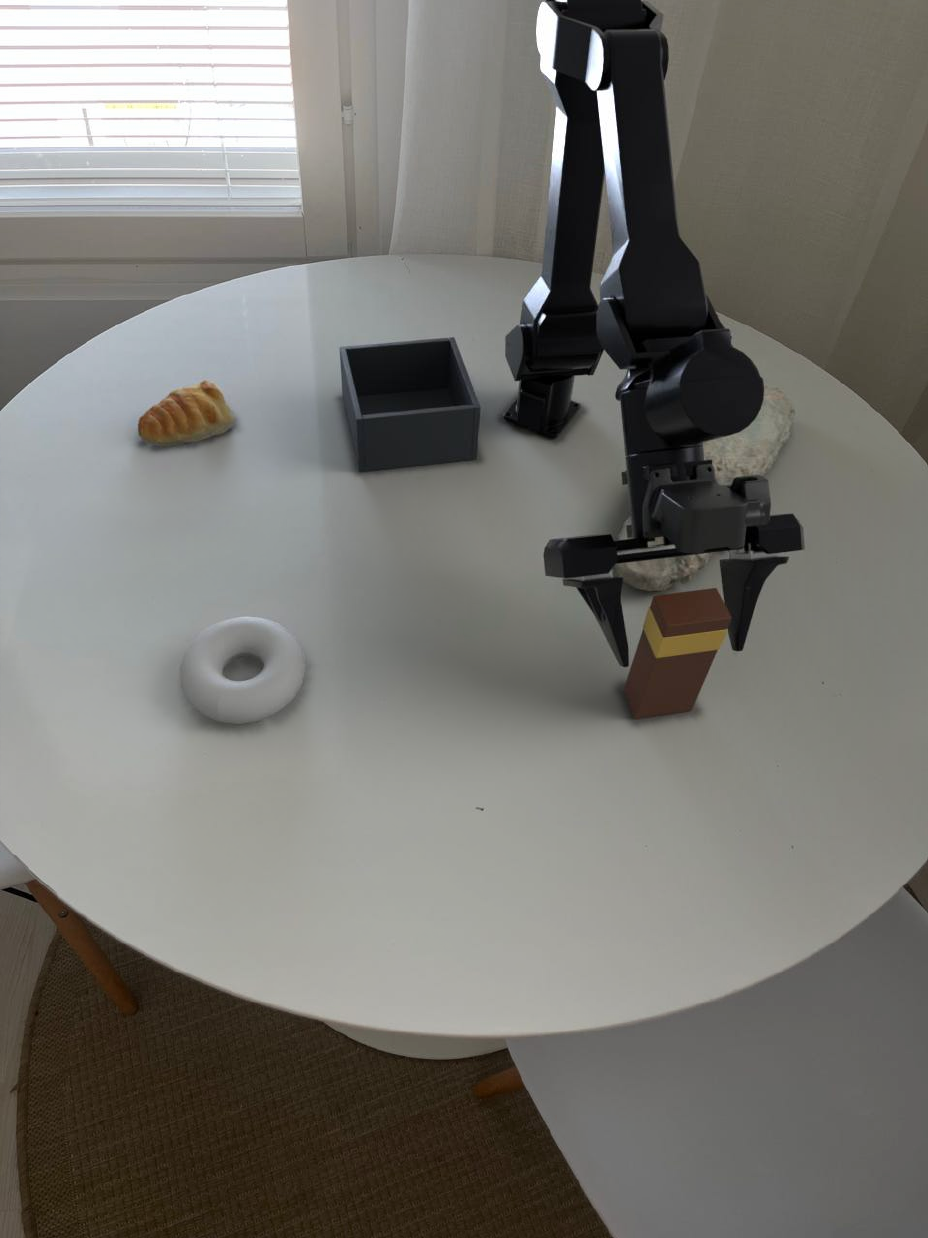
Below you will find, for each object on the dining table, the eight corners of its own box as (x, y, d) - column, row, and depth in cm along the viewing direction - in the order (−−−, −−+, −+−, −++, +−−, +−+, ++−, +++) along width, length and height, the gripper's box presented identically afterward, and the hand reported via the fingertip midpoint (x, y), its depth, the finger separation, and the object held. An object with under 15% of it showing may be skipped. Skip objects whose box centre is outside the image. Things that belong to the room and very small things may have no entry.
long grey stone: (808, 433, 101) (724, 404, 105) (824, 391, 97) (736, 363, 101) (685, 618, 80) (585, 574, 84) (698, 575, 76) (593, 531, 80)
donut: (308, 632, 78) (189, 634, 77) (306, 606, 76) (182, 608, 74) (305, 730, 72) (175, 734, 71) (302, 706, 69) (167, 710, 68)
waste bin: (451, 388, 101) (454, 336, 96) (476, 459, 94) (480, 407, 89) (342, 398, 99) (339, 346, 94) (359, 472, 91) (356, 419, 86)
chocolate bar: (622, 689, 76) (652, 594, 67) (679, 681, 77) (717, 586, 67) (634, 720, 74) (666, 627, 65) (692, 711, 75) (733, 618, 65)
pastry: (158, 462, 91) (150, 431, 88) (128, 428, 94) (119, 397, 91) (241, 428, 95) (235, 397, 92) (209, 396, 98) (203, 366, 95)
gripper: (576, 453, 58) (598, 692, 60) (840, 427, 61) (855, 655, 63) (532, 467, 69) (552, 669, 71) (759, 445, 72) (773, 639, 74)
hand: (681, 658), depth 69 cm, fingers open, 9 cm apart
